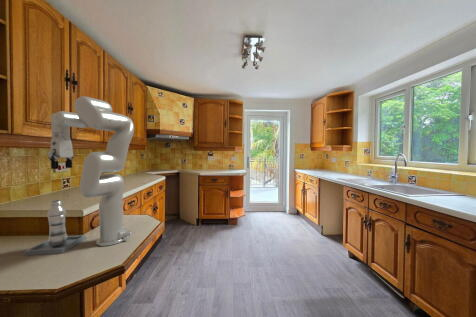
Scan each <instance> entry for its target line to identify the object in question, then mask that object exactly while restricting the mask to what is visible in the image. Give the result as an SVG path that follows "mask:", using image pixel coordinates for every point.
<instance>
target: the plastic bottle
mask: <svg viewBox="0 0 476 317" xmlns="http://www.w3.org/2000/svg"><path fill="white" fill-rule="evenodd" d="M50 206H51V207H50V208H49V210H48V211H47V212H46V215H47V219H48V225H49V226H48V227H49V230H48V231H49V235H48V239H47V240H48V243H49V245H50V246H59V245H62V244H65V243H66V242H67V238H68V233H67V228H66V216H67V210H66V209H65V207H64V206H63V201H62V199H55V200H51V201H50Z"/></svg>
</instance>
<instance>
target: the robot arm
mask: <svg viewBox="0 0 476 317" xmlns="http://www.w3.org/2000/svg"><path fill="white" fill-rule="evenodd" d="M73 107H74V112H71V111H70V112H69V111H66V110H63V111H62V110H60V111H57V112H56V113H51V115H50V122H51V123H50V124H51V127H50V128H51V141H50V150H49V151H48V152H47V153H46V155H47V156H48V159H49V161H50V169H51V170H59V168H60V167H59V166H60V165H59V164H60V163H59V161H58V160H59V159H60V158H64V159H65V162H64V163H65V166H64V167H65V169H72V168H73V160H74V156H75V153H74V150H73V144H72V140H71V129H70V128H79V129H82V128H83V129H84V128H92V129H93V130H98V131H107V132H114V134H113V135H112V136H111V137H110V138H109V139H108V141H107V145H106V149H105V150H104V151H93V152H90V153H88V154H87V155H86V157H85V158H84V161H83V164H82V169H81V176H80V180H79V192H80V194H81V196H82V197H84V198H89V199H90V198H97V197H101V199H100V200H99V203H98V218H99V238H98V239H97V240H96V241H95V243H96V245H97V246H98V247H99V246H100V247H106V246H113V245H117V244H120V243H122V242H124V241H126V240H127V239H128V237H132V236H133V232H132V230H127V228H126V227H124V207H123V206H124V205H123V203H124V202H123V195H124V189H125V180H124V177H123V176H122V175H120V174H119V173H117V172H121V171H122V170H124V168H125V165H126V162H127V161H126V160H127V156H128V152H129V146H130V143H131V140H132V139H133V136H134V133H135V125H134V122H133V120H132V118H130V117H129V116H127V115H125V114H122V113H117V112H113V107H112V106H111V104H110V103H109V102H107V101H105V100H103V99H98V98H94V97H90V96H85V95H83V96H79V97H77V99H76V100H75V101H74V104H73Z"/></svg>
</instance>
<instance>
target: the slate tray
mask: <svg viewBox="0 0 476 317" xmlns="http://www.w3.org/2000/svg"><path fill="white" fill-rule="evenodd" d="M67 237H68V238H67V242H66V243H65V244H62V245H59V246H50V245H49V243H48V239H47V240H45V241H43V242H41V243H39V244H37V245H35V246H32V247H31V248H29V249H26V250H24V252H23V254H24V256H25V257H26V256H39V255H42V256H43V255H51V254H53V255H55V254H63V253H65V252H67V251H68V250H70V249H72V248H73V247H75V246H77V245H78V244H80V243H82V242H83V241H85V240H86V239H87V238H86V237H87V236H86V235H72V236H71V235H69V236H68V235H67Z"/></svg>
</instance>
